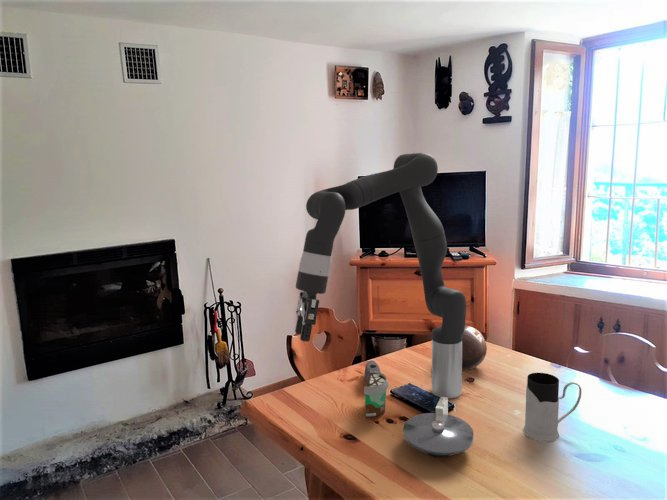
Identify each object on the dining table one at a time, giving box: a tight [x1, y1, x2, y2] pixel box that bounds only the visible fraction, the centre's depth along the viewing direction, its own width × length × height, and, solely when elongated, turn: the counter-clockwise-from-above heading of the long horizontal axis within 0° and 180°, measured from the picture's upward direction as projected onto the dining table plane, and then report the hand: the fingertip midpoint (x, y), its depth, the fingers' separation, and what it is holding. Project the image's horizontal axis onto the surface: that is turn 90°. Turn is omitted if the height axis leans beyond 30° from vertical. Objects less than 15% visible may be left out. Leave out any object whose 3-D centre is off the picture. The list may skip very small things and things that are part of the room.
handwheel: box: [402, 396, 474, 456], centre depth 121 cm, size 17×17×7 cm
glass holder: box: [522, 372, 582, 443], centre depth 127 cm, size 9×14×15 cm, turn 88°
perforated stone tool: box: [364, 359, 382, 385], centre depth 161 cm, size 15×5×7 cm, turn 178°
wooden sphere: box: [462, 325, 487, 370], centre depth 170 cm, size 15×15×15 cm
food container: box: [364, 371, 390, 420], centre depth 141 cm, size 12×6×10 cm, turn 168°
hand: (301, 337), depth 120 cm, fingers open, 8 cm apart
